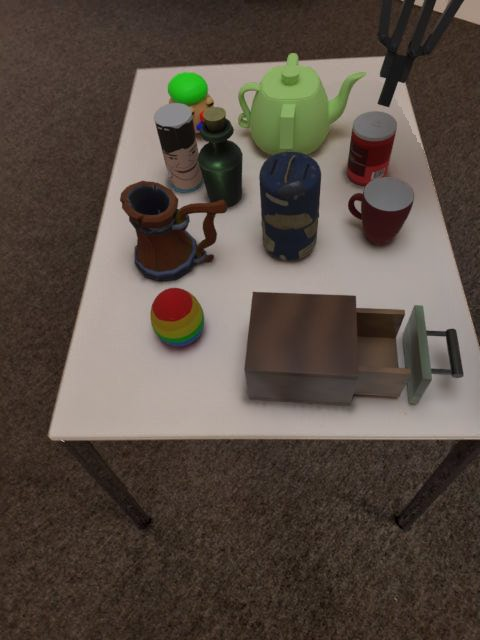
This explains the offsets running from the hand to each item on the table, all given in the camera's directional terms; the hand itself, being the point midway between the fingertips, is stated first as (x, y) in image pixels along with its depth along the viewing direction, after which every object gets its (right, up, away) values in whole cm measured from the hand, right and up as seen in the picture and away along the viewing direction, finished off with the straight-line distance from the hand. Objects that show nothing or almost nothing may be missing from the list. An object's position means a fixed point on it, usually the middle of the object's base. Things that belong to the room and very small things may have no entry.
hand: (383, 105), depth 69 cm
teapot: (-8, +8, +34) cm, 36 cm away
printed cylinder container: (-31, -3, +29) cm, 43 cm away
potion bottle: (-23, -7, +25) cm, 35 cm away
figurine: (-30, +11, +37) cm, 49 cm away
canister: (-12, -17, +17) cm, 27 cm away
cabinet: (-11, -38, +4) cm, 39 cm away
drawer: (+1, -38, +2) cm, 38 cm away
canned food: (+4, -2, +26) cm, 26 cm away
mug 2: (+3, -16, +17) cm, 23 cm away
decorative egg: (-30, -33, +9) cm, 45 cm away
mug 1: (-31, -20, +17) cm, 40 cm away
